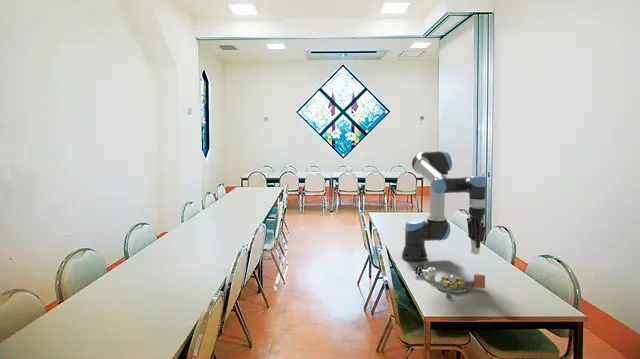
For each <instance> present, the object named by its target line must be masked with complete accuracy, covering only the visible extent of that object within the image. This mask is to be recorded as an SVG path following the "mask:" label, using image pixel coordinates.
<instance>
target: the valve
mask: <svg viewBox="0 0 640 359" xmlns="http://www.w3.org/2000/svg"><path fill="white" fill-rule="evenodd" d="M414 267H415V268H414V269H413V271H414V272H415V273H414V275H416V276H421V274H424V275H425V276H426V277H427V281H428V282H432V283H434V282H435V281H436V275H437V273H436V268H435V267H428V268H427V269H425V267H424V264H421V263H418V264H417V265H416V264H415V266H414Z"/></svg>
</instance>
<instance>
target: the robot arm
mask: <svg viewBox="0 0 640 359" xmlns="http://www.w3.org/2000/svg"><path fill="white" fill-rule="evenodd" d="M411 167H412V169H413V170H414V172H416V173H417V174H420V175H421V176H422V177H424V179H426V180H427V181H428V182H429V185H430V186H429V215H428V216H427V218H426V220H425V219H423V218H414V219H409V220H407V221H406V222H405V228H404V231H405V232H404V247H403V249H402V253H401V258H402V259H403V260H405V261H408V262H416V263H417V262H424V261H427V260H428V252H427V250H426V249H427V248H426V247H425V245H426V244H425V243H426V242H431V241H445V240H447V239H448V238H449V236H450V234H451V224H450V222H449V221H448V219H447V217H445V202H446V201H445V199H446V198H445V197H446V196H445V195H446V194H452V193H454V194H458V193H459V194H460V193H461V194H462V193H468V194H469V196H468V197H469V200H468V201H469V202H468V206H469V207H468V215H469V217H467V218H466V222H467V235H468V238H469V239H470V242H471V243H470V246H471V247H470V248H471V249H470V250H471V254H473V255H480V250H481V249H480V248H481V242H484V239H485V234H486V232H485V231H486V228H487V225H488V224H487V222H485V221H484V216H485V214H486V208H485V207H486V196H487V195H486V194H487V193H486V192H487V177H486V176H484V175H471V176H470V177H468V176H461V177H447V176H448V174H449V172H450V171H451V170H452V168H453V161H452V157H451V155H450V154H449V153H448V152H447V151H440V150H439V151H422V152H419V153H416V154H415V156H414V157H413V158H412V161H411Z"/></svg>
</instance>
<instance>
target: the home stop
mask: <svg viewBox="0 0 640 359" xmlns="http://www.w3.org/2000/svg"><path fill="white" fill-rule="evenodd" d="M451 289H452V288H447V290H446V292H445V293H446V294H445V297H446V298H450V299H451V298H452V293H451Z"/></svg>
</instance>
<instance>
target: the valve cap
mask: <svg viewBox="0 0 640 359" xmlns="http://www.w3.org/2000/svg"><path fill="white" fill-rule="evenodd" d="M453 274H454V273H450V274H448V275H447V276H448V281H450V282H451V280H455V282H457V277H458V275H456V274H454V275H453ZM435 288H436V289H437V290H438V291H440V292H443V293H446V290H447V288H446V287H443V286H442V285H441V280H439V281H436V282H435ZM469 291H470V287H464V288H461V289H451V295H453V294H455V295H461V294H465V293H468V292H469Z"/></svg>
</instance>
